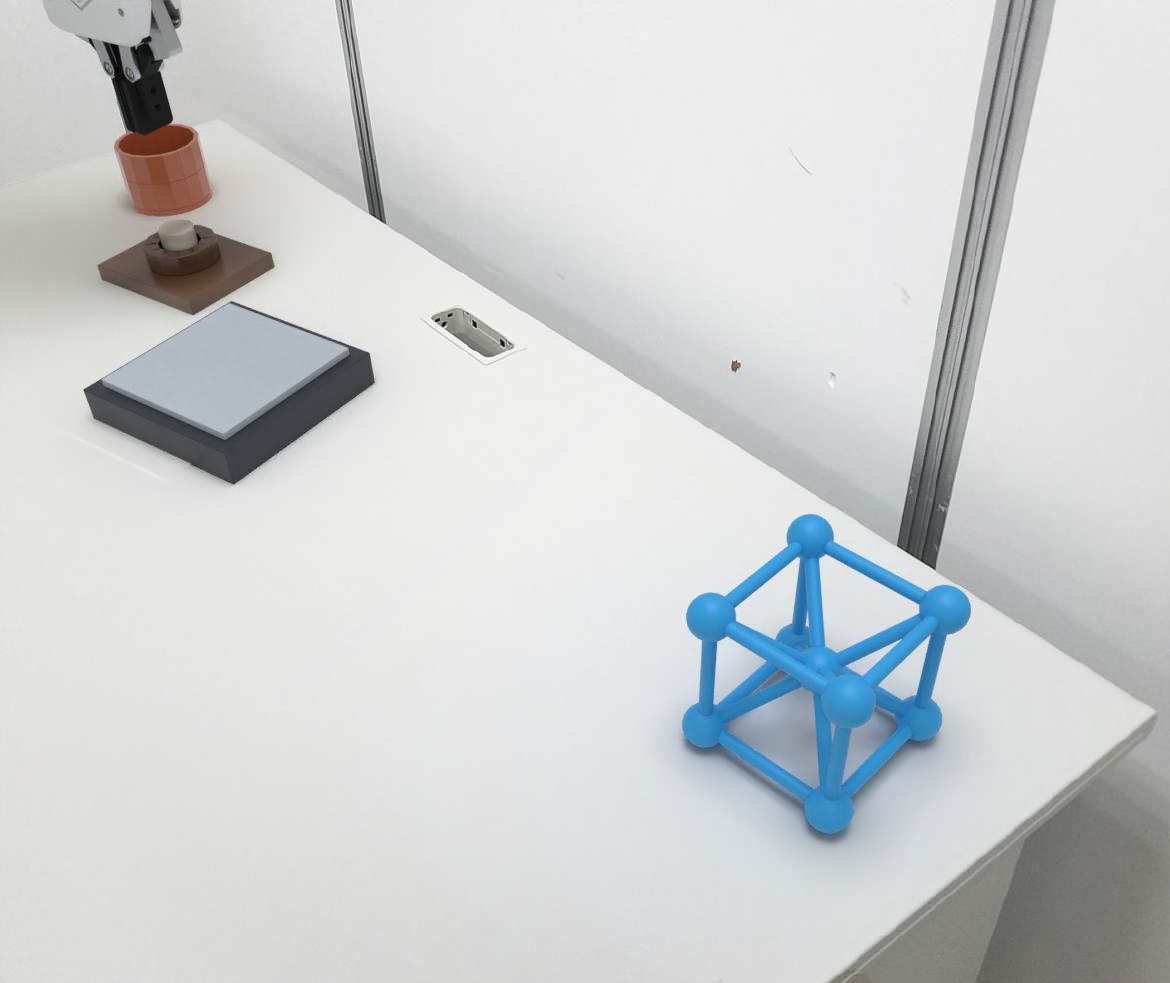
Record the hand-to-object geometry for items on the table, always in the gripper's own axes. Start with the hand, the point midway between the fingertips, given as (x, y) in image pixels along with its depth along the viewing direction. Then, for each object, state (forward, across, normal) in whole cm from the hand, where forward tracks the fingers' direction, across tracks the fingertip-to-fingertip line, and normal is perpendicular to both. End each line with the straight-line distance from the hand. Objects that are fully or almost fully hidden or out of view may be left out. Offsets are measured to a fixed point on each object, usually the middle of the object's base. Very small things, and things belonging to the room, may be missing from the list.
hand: (151, 126), depth 91 cm
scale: (+12, +17, -11) cm, 24 cm away
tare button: (+10, 0, 0) cm, 10 cm away
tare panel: (+12, 0, 0) cm, 12 cm away
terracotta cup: (+12, -12, +9) cm, 19 cm away
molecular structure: (+13, +65, -17) cm, 68 cm away
